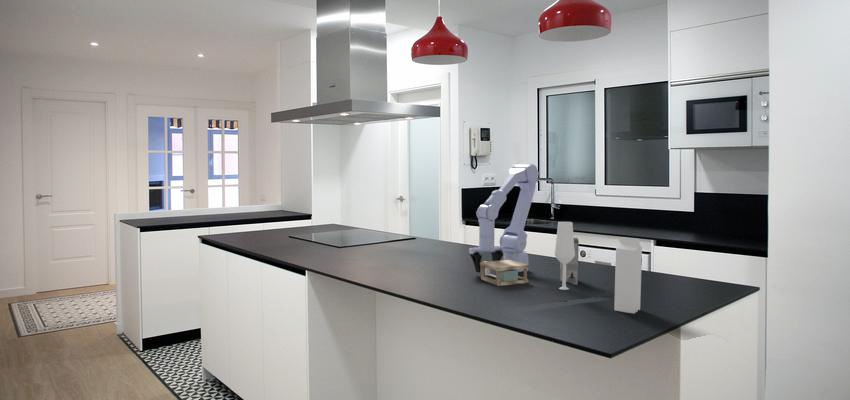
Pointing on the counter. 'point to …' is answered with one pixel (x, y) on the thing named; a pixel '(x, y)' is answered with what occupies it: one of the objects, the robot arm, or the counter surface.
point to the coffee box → (571, 266)
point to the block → (504, 274)
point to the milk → (628, 275)
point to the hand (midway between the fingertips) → (486, 271)
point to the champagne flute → (564, 247)
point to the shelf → (520, 280)
